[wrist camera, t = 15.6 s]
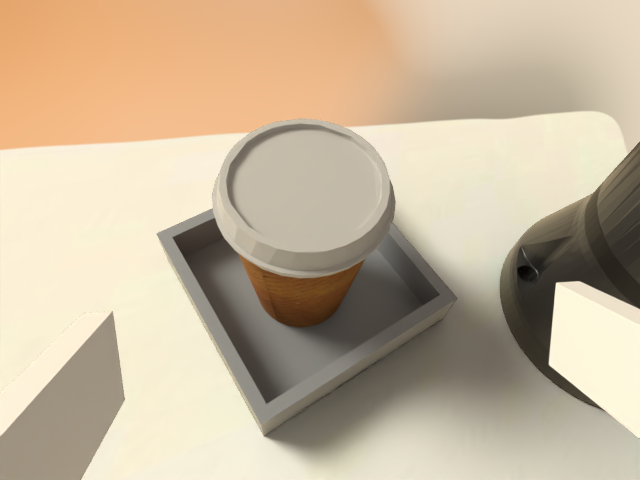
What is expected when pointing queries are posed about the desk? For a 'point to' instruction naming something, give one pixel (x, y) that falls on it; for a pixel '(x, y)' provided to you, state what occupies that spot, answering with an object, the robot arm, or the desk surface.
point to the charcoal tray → (302, 342)
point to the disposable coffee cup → (303, 214)
